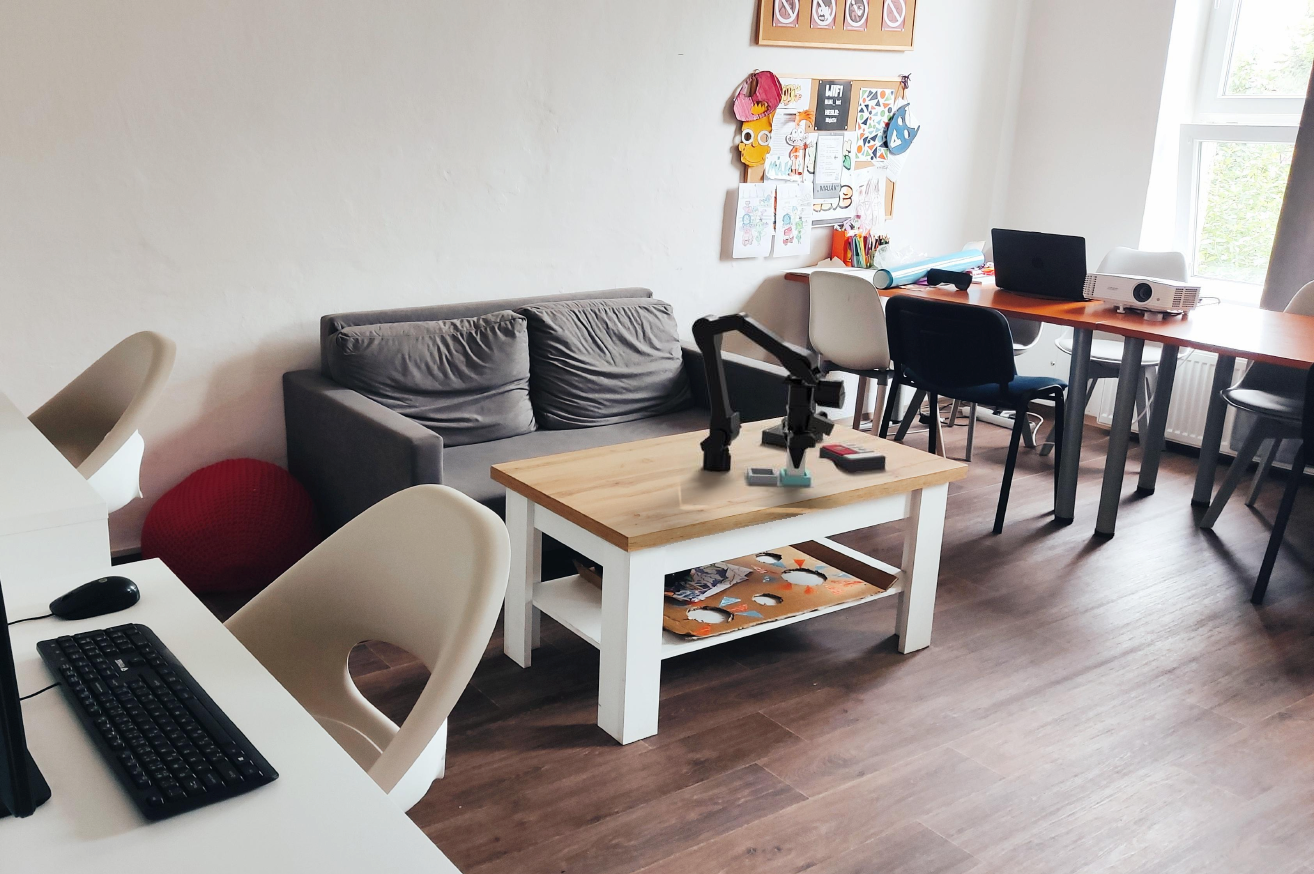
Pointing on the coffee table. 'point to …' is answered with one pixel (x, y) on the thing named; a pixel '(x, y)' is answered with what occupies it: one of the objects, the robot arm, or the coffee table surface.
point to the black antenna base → (781, 436)
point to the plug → (790, 468)
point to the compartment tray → (776, 478)
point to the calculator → (853, 457)
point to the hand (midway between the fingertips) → (795, 465)
